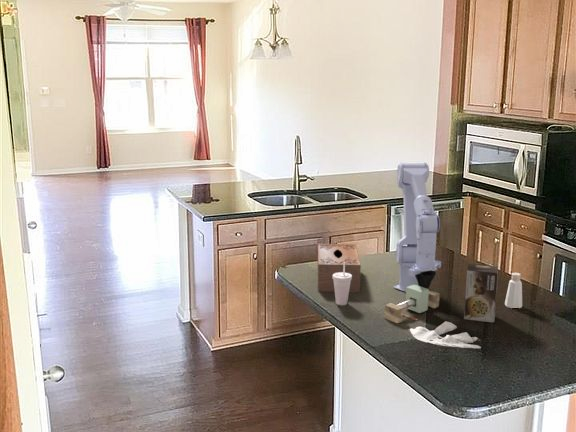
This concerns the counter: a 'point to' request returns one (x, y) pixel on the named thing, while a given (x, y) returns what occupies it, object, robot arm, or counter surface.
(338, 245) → the tissue box cover
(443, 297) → the counter surface
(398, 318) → the pipe supports
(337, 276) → the smoothie
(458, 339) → the cloth
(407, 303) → the pipe
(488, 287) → the printed cardboard box
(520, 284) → the pepper shaker
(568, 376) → the counter surface
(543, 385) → the counter surface
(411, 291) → the collar
